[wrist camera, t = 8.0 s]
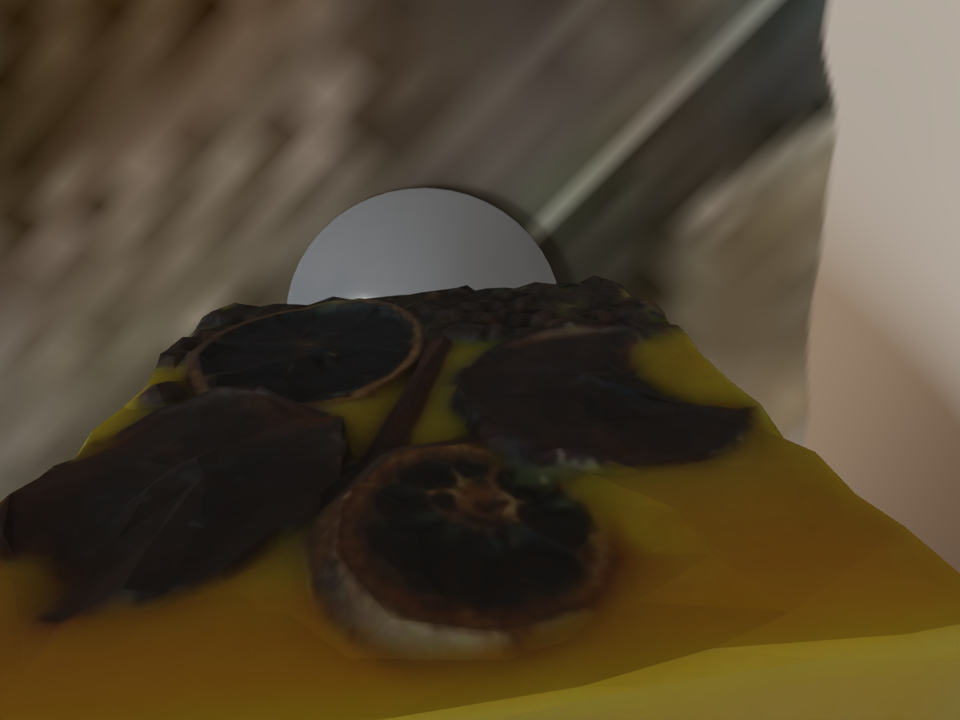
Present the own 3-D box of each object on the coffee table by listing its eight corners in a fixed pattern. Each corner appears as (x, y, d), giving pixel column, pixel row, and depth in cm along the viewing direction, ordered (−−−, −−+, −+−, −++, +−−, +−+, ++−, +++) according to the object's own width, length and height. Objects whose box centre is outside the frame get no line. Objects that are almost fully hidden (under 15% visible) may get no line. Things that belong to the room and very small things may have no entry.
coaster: (303, 440, 26) (300, 447, 25) (273, 181, 21) (269, 183, 20) (544, 435, 27) (547, 441, 26) (572, 191, 22) (576, 193, 21)
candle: (606, 568, 17) (809, 1063, 8) (292, 608, 17) (143, 1196, 8) (625, 264, 13) (1101, 618, 4) (200, 301, 12) (-417, 833, 3)
